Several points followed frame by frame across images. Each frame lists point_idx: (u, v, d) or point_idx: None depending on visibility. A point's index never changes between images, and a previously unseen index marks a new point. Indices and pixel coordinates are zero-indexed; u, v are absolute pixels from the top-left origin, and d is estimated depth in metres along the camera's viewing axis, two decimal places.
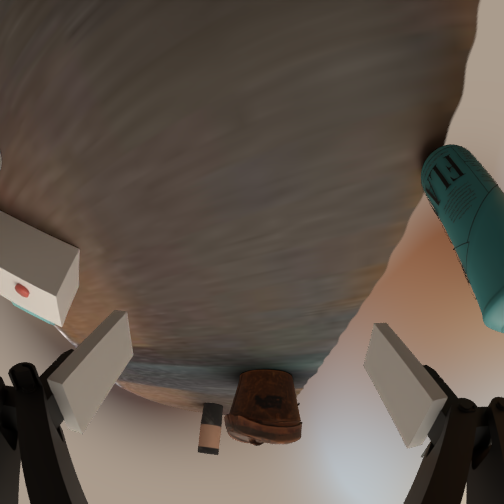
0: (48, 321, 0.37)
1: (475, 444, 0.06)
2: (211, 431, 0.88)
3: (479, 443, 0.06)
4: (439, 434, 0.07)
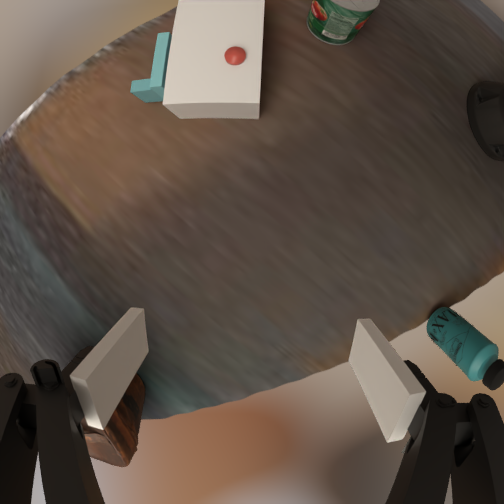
0: (157, 84, 0.28)
1: (456, 440, 0.07)
2: None
3: (461, 439, 0.07)
4: (418, 430, 0.08)
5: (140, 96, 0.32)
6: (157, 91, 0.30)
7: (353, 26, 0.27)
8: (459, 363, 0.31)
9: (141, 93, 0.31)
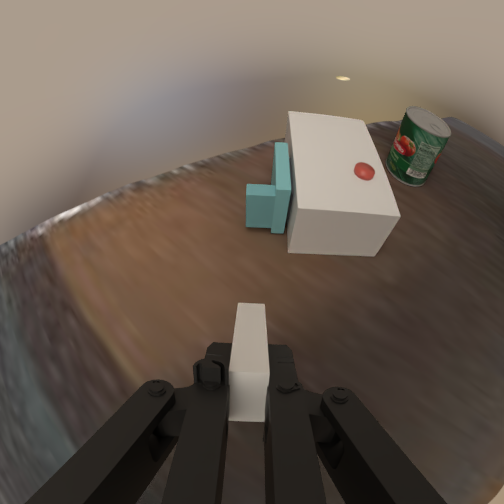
0: (285, 187, 0.29)
1: None
2: None
3: (315, 434, 0.09)
4: (269, 418, 0.09)
5: (250, 209, 0.31)
6: (278, 202, 0.30)
7: (434, 158, 0.36)
8: None
9: (256, 202, 0.30)
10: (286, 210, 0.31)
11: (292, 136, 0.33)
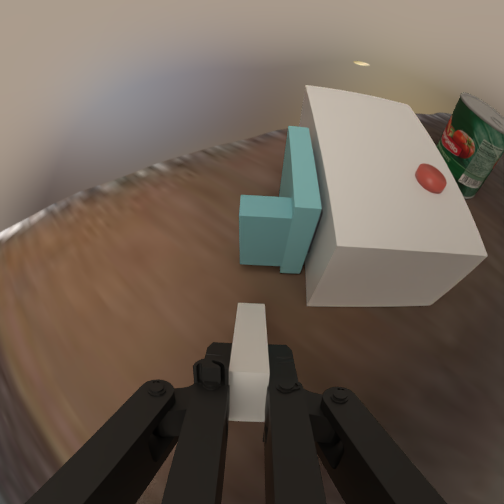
0: (311, 204, 0.16)
1: None
2: None
3: (315, 434, 0.09)
4: (269, 418, 0.09)
5: (246, 239, 0.18)
6: (296, 228, 0.17)
7: (494, 163, 0.23)
8: None
9: (258, 228, 0.17)
10: (308, 241, 0.18)
11: (315, 118, 0.20)
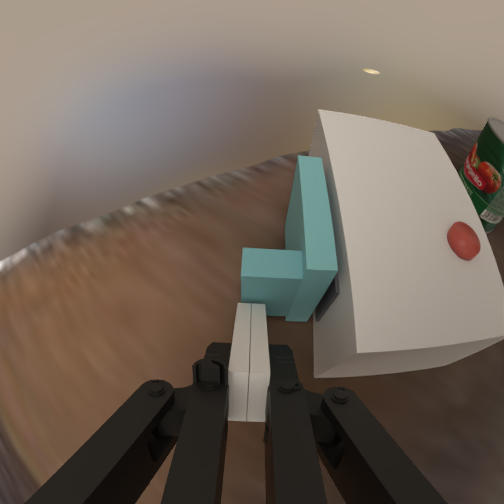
0: (326, 264, 0.13)
1: None
2: None
3: (316, 434, 0.09)
4: (270, 418, 0.09)
5: (249, 295, 0.16)
6: (306, 287, 0.15)
7: None
8: None
9: (262, 286, 0.15)
10: (319, 297, 0.16)
11: (332, 159, 0.17)
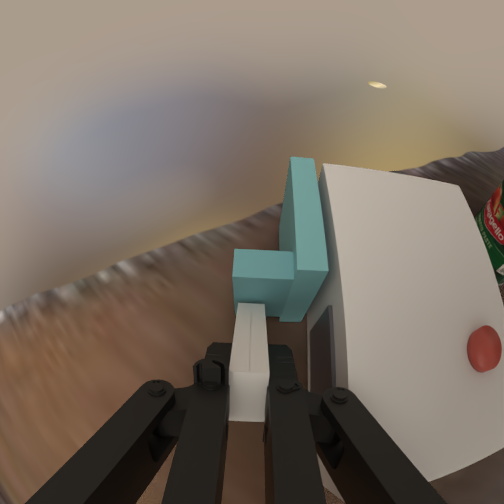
0: (317, 265, 0.13)
1: None
2: None
3: (315, 434, 0.09)
4: (269, 418, 0.09)
5: (242, 296, 0.16)
6: (298, 287, 0.15)
7: None
8: None
9: (254, 287, 0.15)
10: (312, 297, 0.16)
11: (340, 250, 0.14)
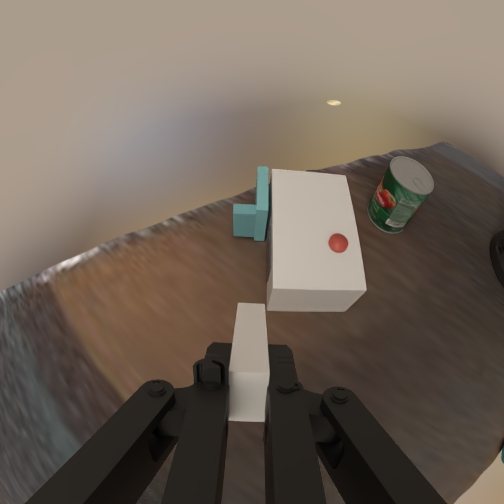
0: (264, 208, 0.37)
1: None
2: None
3: (315, 434, 0.09)
4: (269, 418, 0.09)
5: (236, 223, 0.40)
6: (258, 218, 0.38)
7: (414, 211, 0.40)
8: None
9: (241, 218, 0.39)
10: (265, 224, 0.40)
11: (273, 203, 0.37)
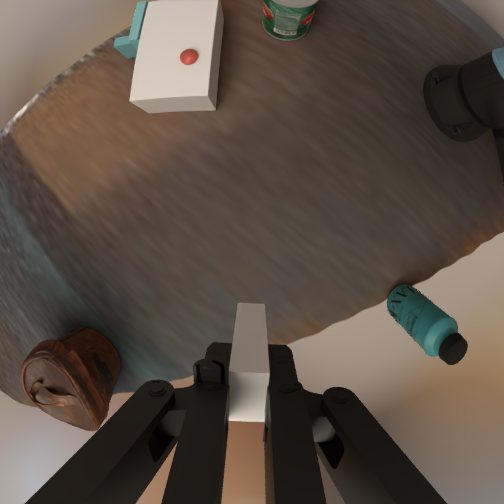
0: (134, 37, 0.31)
1: None
2: None
3: (315, 434, 0.09)
4: (269, 418, 0.09)
5: (122, 51, 0.34)
6: (135, 45, 0.33)
7: (299, 21, 0.31)
8: (415, 337, 0.35)
9: (122, 47, 0.33)
10: None
11: (141, 32, 0.30)
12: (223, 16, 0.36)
